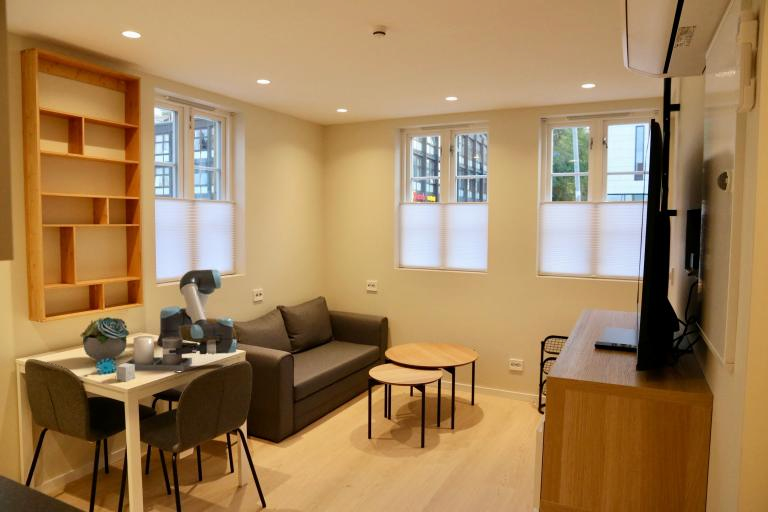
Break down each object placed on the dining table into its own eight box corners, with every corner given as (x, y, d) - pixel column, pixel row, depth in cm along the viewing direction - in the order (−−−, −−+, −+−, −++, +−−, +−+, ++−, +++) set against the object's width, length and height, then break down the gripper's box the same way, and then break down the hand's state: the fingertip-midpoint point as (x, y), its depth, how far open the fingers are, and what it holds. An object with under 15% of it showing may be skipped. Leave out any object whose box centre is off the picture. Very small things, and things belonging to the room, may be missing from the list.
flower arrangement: (131, 353, 310) (131, 312, 308) (128, 365, 287) (127, 321, 285) (83, 356, 301) (83, 314, 299) (75, 368, 278) (75, 323, 276)
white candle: (138, 362, 289) (138, 335, 288) (156, 363, 289) (156, 336, 288) (130, 368, 279) (130, 340, 278) (149, 368, 279) (149, 340, 278)
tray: (135, 363, 292) (135, 356, 291) (191, 363, 293) (191, 357, 293) (122, 371, 276) (122, 364, 275) (182, 372, 277) (182, 365, 277)
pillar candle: (178, 360, 291) (178, 333, 290) (184, 364, 284) (184, 336, 283) (160, 362, 285) (159, 335, 284) (166, 367, 278) (165, 339, 277)
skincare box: (135, 378, 265) (135, 364, 264) (125, 381, 259) (125, 367, 259) (125, 377, 267) (125, 362, 266) (116, 380, 261) (115, 365, 261)
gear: (94, 374, 264) (96, 357, 270) (93, 380, 267) (95, 363, 274) (119, 375, 269) (120, 358, 275) (117, 380, 273) (119, 363, 279)
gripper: (206, 359, 279) (161, 361, 272) (207, 349, 300) (165, 350, 293) (207, 345, 279) (161, 347, 272) (207, 336, 300) (165, 337, 293)
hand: (163, 349), depth 283 cm, fingers closed on pillar candle, 9 cm apart
